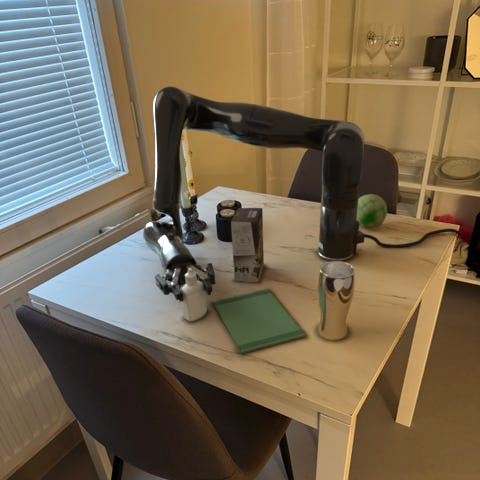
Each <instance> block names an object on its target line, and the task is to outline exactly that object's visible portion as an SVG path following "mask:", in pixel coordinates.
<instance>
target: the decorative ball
mask: <svg viewBox="0 0 480 480" xmlns="http://www.w3.org/2000/svg"><path fill="white" fill-rule="evenodd" d="M387 215H388V205H387V202H386V201H385V200H384V198H382V197H381V196H380V195H377V194H373V193H368V194H364V195H362V196H359V199H358V209H357V219H356V220H357V221H359V228H362V229H365V230H372V229H373V230H374V229H375V228H378V227H379V226H381V225H383V223H384V221H385V220H386V218H387Z"/></svg>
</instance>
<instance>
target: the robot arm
mask: <svg viewBox="0 0 480 480" xmlns="http://www.w3.org/2000/svg"><path fill="white" fill-rule="evenodd" d="M153 120H154V133H155V138H154V139H155V171H154V183H153V184H154V185H153V196H152V208H153V211H155V212H157V213H159V214H163V215H165V216H168V218H169V221H160V220H150V221H149V222H147V223H146V224H145V225H144V227H143V231H142V237H143V241H144V243H145V245H146V246H147V247H148V248H149V249H150V250H151V251H152V252H154V254H156V255H158V257H159V260H160V264H161V267H162V268H163V270H164V272H165V274H164V275H161V274H160V273H156V274H154V280H155V285H156V287H157V288H158V289H159V290H160V291H161V292H162V294H163V295H165V296H168V295H170V294H172V295H173V296H174V298H175V301H179V302H180V303H182V301H183V295H182V292H181V289H182V287H183V286H184V285H185V284H186V280H185V274H186V273H188V269H189V268H191V269H192V272H194V273H196V277H197V281H200V282H202V283H203V284H204V289H205V294H206V295H207V296H211V295H212V293H213V291H214V290H213V285H216V283H217V281H216V272H215V269H214V265H213V263H212V262H208V263H206V266H201V265H199V264H198V263H197V261H196V259H195V257H194V256H193V254H192V252H191V251H190V250H189V248H188V247H187V245H185V243H184V241H183V240H184V231H183V226H182V219H181V211H180V209H181V208H180V207H181V195H182V183H183V182H182V181H183V180H182V179H183V178H182V176H183V175H182V167H181V143H182V135H183V131H184V130H187V131H188V130H189V131H199V132H208V133H211V134H216V135H219V136H222V137H224V138H226V139H229V140H231V141H234V142H238V143H241V144H244V145H249V146H252V147H253V146H254V147H258V148H261V149H263V148H264V149H273V150H276V149H277V150H278V149H279V150H280V149H282V150H283V149H284V150H285V149H305V150H311V151H314V152H318V153H322V157H321V158H322V160H321V161H322V162H321V195H320V197H321V199H320V218H319V234H318V235H319V236H318V242H317V246H318V249H317V255H318V256H319V257H320V258H321V259H323V260H325V261H327V262H331V261H342V262H346V261H348V260H350V259H351V258H353V257H354V256H357V250H358V249H357V248H358V245H359V244H364V243H365V238H366V239H370V240H372V241H374V242H375V243H376V245H378V246H379V247H382V248H392V249H394V248H395V249H396V248H397V249H399V248H407V247H408V248H409V247H412V246H413V247H414V246H417V245H420V244H422V243H423V242H424V241H425V240H426V239H427V238H428V237H430V236H433V235H438V234H442V233H443V234H444V233H454V234H455V235H458V236H463V233H462V232H461V231H460V230H458V229H456V228H442V229H437V230H433V231H429V232H427V233H425V234H424V235H423V236H422V237H421V238H420V239H419V240H416V241H412V242H407V243H401V244H400V243H399V244H390V243H384V242H381V241H380V240H379V239H378V238H377V237H376V236H373V235H371V234H368V233H364V232H363V231H361V230H360V226H359V221H357V220H356V219H357V209H358V199H359V198H360V189H361V188H360V187H361V179H362V170H363V163H364V162H363V160H364V150H365V135H364V132H363V130H362V128H361V127H360V126H359V125H358V124H356V123H355V122H353V121H348V120H337V119H327V118H326V119H325V118H316V117H309V116H306V115H302V114H299V113H295V112H292V111H287V110H283V109H280V108H275V107H271V106H266V105H262V104H257V103H250V102H239V101H238V102H237V101H235V102H234V101H216V100H212V99H209V98H205V97H202V96H198V95H196V94H193V93H190V92H188V91H186V90H184V89H181V88H179V87H177V86H172V85H171V86H165V87H163V88H161V89H159V90H158V92H157V94H156V95H155V97H154V100H153ZM168 282H169V283H171V284H169V283H168Z"/></svg>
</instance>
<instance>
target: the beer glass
mask: <svg viewBox="0 0 480 480" xmlns="http://www.w3.org/2000/svg"><path fill="white" fill-rule="evenodd" d="M355 272H356V269H355V267H354V266H353V265H352V264H350V263H349V262H346V261H327V262H325V263H323V264H322V265H320V268H319V276H318V277H319V278H318V283H317V286H318V287H317V296H318V304H319V305H318V306H319V311H320V319H319V323H318V327H317V333H318V334H319V336H320V337H322V338H323V339H326V340H330V341H337V340H341V339H344V338H345V337H346V336H347V335H348V324H347V321H348V315H349V311H350V308H351V305H352V302H353V299H354V292H355V285H356V283H355V281H356V280H355V276H356V274H355Z"/></svg>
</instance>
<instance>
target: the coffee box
mask: <svg viewBox="0 0 480 480" xmlns="http://www.w3.org/2000/svg"><path fill="white" fill-rule="evenodd" d="M263 214H264V213H263V207H238V208H237V209H236V211H235V213H234V215H233V217H232V219H231V221H230V226H231V245H232V260H233V261H232V262H233V276H234V277H233V278H234V279H233V280H234V281H235V282H245V283H246V282H249V283H259V280H260V279H261V276H262V275H261V274H262V272H263V269H264V266H265V261H264V260H265V257H264V256H265V255H264V253H265V251H264V223H263V222H264V220H263Z"/></svg>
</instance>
